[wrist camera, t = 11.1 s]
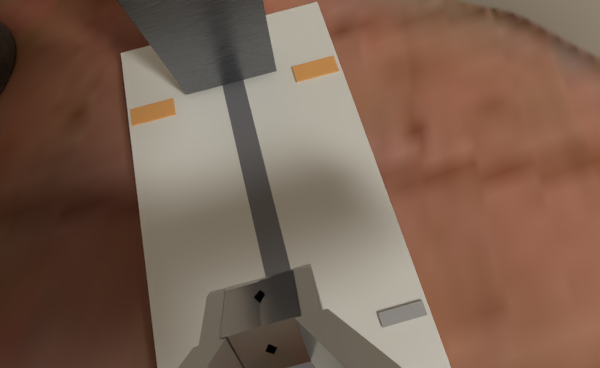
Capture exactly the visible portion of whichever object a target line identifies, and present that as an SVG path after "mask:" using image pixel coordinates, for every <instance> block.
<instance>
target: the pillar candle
mask: <svg viewBox="0 0 600 368" xmlns="http://www.w3.org/2000/svg"><path fill="white" fill-rule="evenodd" d="M15 53H16V48H15V42H14V39H13V36H12V33H11V32H10V30H9V29H8V28H7V27H6V25H4V24H3V23H2V22H1V21H0V91H2V89H3V87H4V86H5V84H7V82H8V79H9V78H10V75H11V71H12V69H13V65H14V59H15Z"/></svg>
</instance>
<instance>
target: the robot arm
mask: <svg viewBox="0 0 600 368" xmlns="http://www.w3.org/2000/svg"><path fill="white" fill-rule="evenodd" d="M307 362H312V364H313V365H314V366H315V367H316V368H401V366H399V365H398V364H397V363H396V362H394V361H393V360H392V359H391V358H389V357H388V356H387V355H386V354H384V353H383V352H382V351H380V350H379V349H378V348H377V347H375V346H374V345H373V344H372V343H370V342H369V341H368V340H367V339H365V338H364V337H363V336H362V335H360V334H359V333H358V332H357V331H355V330H354V329H353V328H352V327H350V326H349V325H348V324H347V323H345V322H344V321H343V320H342V319H340V318H339V317H338V316H337V315H335V314H334V313H333V312H332V311H330V310H329V309H324V308H323V305H322V301H321V298H320V294H319V291H318V288H317V284H316V281H315V277H314V274H313V270H312V267H311V264H306V265H303V266H300V267H296V268H294V269H290V270H287V271H283V272H280V273H276V274H273V275H270V276H266V277H263V278H260V279H256V280H252V281H248V282H245V283H241V284H237V285H233V286H229V287H227V288H223V289H219V290H215V291H211V292H209V294H208V296H207V298H206V305H205V311H204V317H203V323H202V329H201V335H200V341H199V346H196V347H193V348H192V350H191V351H190V352H189V354H188V355H187V356H186V358H185V359H184V361H183V362H182V363H181V365H180V366H179V367H178V368H288V367H292V366H295V365H299V364H303V363H307Z"/></svg>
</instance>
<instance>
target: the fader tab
mask: <svg viewBox="0 0 600 368" xmlns="http://www.w3.org/2000/svg"><path fill="white" fill-rule="evenodd" d="M117 1H118V2H119V4H120V5H121V6H122V8H123V9H124V10H125V12H126V13H127V14H128V16H129V17H130V18H131V20H132V21H133V23H134V24H135V25H136V27H137V28H138V29H139V31H140V32H141V33H142V35H143V36H144V37H145V39H146V40H147V41H148V43H149V44H150V45H151V47H152V48H153V50H154V51H155V52H156V54H157V55H158V56H159V58H160V59H161V60H162V62H163V63H164V64H165V66H166V67H167V68H168V70H169V71H170V72H171V74H172V75H173V77H174V78H175V79H176V81H177V82H178V83H179V85H180V86H181V87H182V89H183V90H184V91H185V93H186V94H187V95H188V94H192V93H196V92H199V91H203V90H207V89H211V88H215V87H218V86H222V85H226V84H230V83H233V82H237V81H241V80H245V79H249V78H252V77H256V76H260V75H264V74H267V73H271V72H275V71H277V70H276V65H275V60H274V55H273V50H272V45H271V40H270V35H269V30H268V25H267V20H266V15H265V10H264V5H263V0H117Z"/></svg>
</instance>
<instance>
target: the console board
mask: <svg viewBox="0 0 600 368" xmlns="http://www.w3.org/2000/svg"><path fill="white" fill-rule="evenodd" d="M266 20H267V25H268V30H269V35H270V40H271V45H272V50H273V55H274V60H275V65H276V70H277V71H275V72H271V73H267V74H264V75H260V76H256V77H252V78H249V79H245V80H241V81H237V82H233V83H230V84H226V85H222V86H218V87H215V88H211V89H207V90H203V91H199V92H196V93H192V94H188V95H187V94H186V93H185V91H184V90H183V89H182V87H181V86H180V85H179V83H178V82H177V81H176V79H175V78H174V77H173V75H172V74H171V72H170V71H169V70H168V68H167V67H166V66H165V64H164V63H163V62H162V60H161V59H160V58H159V56H158V55H157V54H156V52H155V51H154V50H153V48H152V47H151V45H150V46H146V47H142V48H138V49H134V50H130V51H127V52H123V53H121V59H122V68H123V77H124V85H125V94H126V103H127V111H128V120H129V128H130V137H131V146H132V154H133V163H134V171H135V180H136V189H137V197H138V206H139V215H140V223H141V232H142V240H143V249H144V258H145V266H146V275H147V283H148V292H149V301H150V309H151V318H152V327H153V335H154V344H155V352H156V361H157V368H178V367H179V366H180V365H181V363H182V362H183V361H184V359H185V358H186V356H187V355H188V354H189V352H190V351H191V350H192V348H193V347H196V346H199V341H200V335H201V329H202V323H203V317H204V311H205V305H206V298H207V296H208V294H209V292H211V291H215V290H219V289H223V288H227V287H229V286H233V285H237V284H241V283H245V282H248V281H252V280H256V279H260V278H263V277H266V276H270V275H273V274H276V273H280V272H283V271H287V270H290V269H294V268H296V267H300V266H303V265H306V264H311V267H312V270H313V274H314V277H315V281H316V284H317V288H318V291H319V294H320V298H321V301H322V305H323V308H324V309H329V310H330V311H332V312H333V313H334V314H335V315H337V316H338V317H339V318H340V319H342V320H343V321H344V322H345V323H347V324H348V325H349V326H350V327H352V328H353V329H354V330H355V331H357V332H358V333H359V334H360V335H362V336H363V337H364V338H365V339H367V340H368V341H369V342H370V343H372V344H373V345H374V346H375V347H377V348H378V349H379V350H380V351H382V352H383V353H384V354H386V355H387V356H388V357H389V358H391V359H392V360H393V361H394V362H396V363H397V364H398V365H399V366H401V368H451V366H450V364H449V361H448V358H447V355H446V353H445V350H444V347H443V344H442V342H441V339H440V336H439V333H438V331H437V328H436V325H435V323H434V320H433V317H432V314H431V312H430V309H429V306H428V303H427V301H426V298H425V295H424V292H423V290H422V287H421V284H420V282H419V279H418V276H417V273H416V271H415V268H414V265H413V262H412V260H411V257H410V254H409V251H408V249H407V246H406V243H405V241H404V238H403V235H402V232H401V230H400V227H399V224H398V221H397V219H396V216H395V213H394V211H393V208H392V205H391V202H390V200H389V197H388V194H387V191H386V189H385V186H384V183H383V180H382V178H381V175H380V172H379V170H378V167H377V164H376V161H375V159H374V156H373V153H372V150H371V148H370V145H369V142H368V139H367V137H366V134H365V131H364V129H363V126H362V123H361V120H360V118H359V115H358V112H357V109H356V107H355V104H354V101H353V98H352V96H351V93H350V90H349V88H348V85H347V82H346V79H345V77H344V74H343V71H342V68H341V66H340V63H339V60H338V57H337V55H336V52H335V49H334V47H333V44H332V41H331V38H330V36H329V33H328V30H327V27H326V25H325V22H324V19H323V16H322V14H321V11H320V8H319V6H318V3H317V2H315V3H311V4H307V5H303V6H299V7H296V8H292V9H288V10H284V11H280V12H276V13H273V14H269V15H266ZM288 368H316V367H315V366H314V365H313V364H312V362H307V363H303V364H299V365H295V366H292V367H288Z"/></svg>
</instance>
